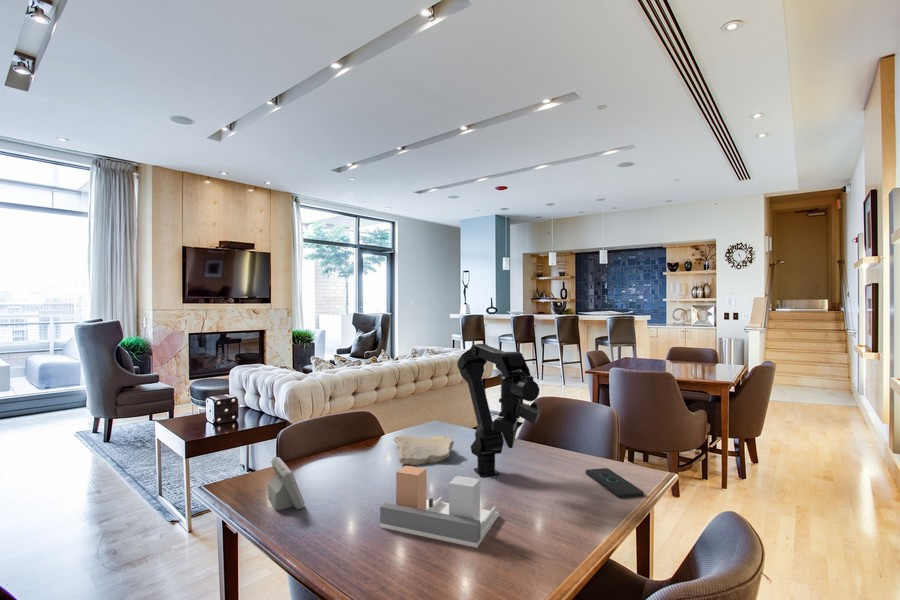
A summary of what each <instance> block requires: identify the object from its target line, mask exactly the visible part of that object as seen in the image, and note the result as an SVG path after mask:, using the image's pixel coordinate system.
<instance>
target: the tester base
mask: <svg viewBox="0 0 900 600" xmlns="http://www.w3.org/2000/svg"><path fill="white" fill-rule="evenodd" d="M496 508H497V506H494V505H493V506H492V508H491V509H490V510H489V509H483V508H480V521H479V520H474V519H469V518H464V517H458V516H453V515H449V502H444V501H443V497H442V496H439V498H437V499H436V500H434V498H428V499H427V498H426V510H421V509H416V508H411V507H405V506H400V505H396V503H395V504H394V503H388V502H384V503H383V504H382V505H380V506H379V527H380V528H383V529H387V530H391V531H396V532H399V533H400V532H401V533H405V534H411V535H415V536H420V537H425V538H429V539H434V540H438V541H444V542H446V543H447V542H448V543H452V544H458V545H462V546H466V547H470V548H471V547H473V548H478V547H479V545H480V544H481V542H482V541H483V540H484V538H485V537H486V536H487V534H488V532H489V531H490V529H491V528H492V526H493V525H494V523H495V521H496V520H497V519H498V518H499V513H500V512H499V511H497V509H496Z"/></svg>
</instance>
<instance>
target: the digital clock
mask: <svg viewBox="0 0 900 600" xmlns="http://www.w3.org/2000/svg"><path fill="white" fill-rule="evenodd" d="M270 463H271V465H272V468H273V470H274V476H273V479H272V480H271V481H270V482H269V483H268V487H267V490H268V491H267V492H268V493H267V495H268V497H267V499H268V500H269V502H270V504H271V505H272V506H273V508H274V510H275V512H277V511H281V510H285V509H289V508H295V509H296V510H301V509H303V508H304V506H305V504H306V503H305V501H304V498H303V496H302V495H303V494H302V493H301V491H300V488H299V486H298V484H297V481H296V478H295V475H294V474H293V472H292V470H291V469H290V468H289V467H288V466H287V464H286V463H285V462H284V461H283V460H282V458H280V457H278V456H275V457H273V458H272V460H271V461H270Z"/></svg>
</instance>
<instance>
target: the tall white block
mask: <svg viewBox="0 0 900 600" xmlns="http://www.w3.org/2000/svg"><path fill="white" fill-rule="evenodd" d="M448 483H449V484H448V503H449V515H453V516H458V517H464V518H469V519H474V520H479V521H480V509H481V479H480V478H474V477H473V478H472V477H468V476H461V475H455V477H454V478H452V480H451V481H450V482H448Z"/></svg>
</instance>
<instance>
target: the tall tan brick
mask: <svg viewBox="0 0 900 600" xmlns="http://www.w3.org/2000/svg"><path fill="white" fill-rule="evenodd" d="M395 474H396V477H395V479H396V481H395V482H396V485H395V486H396V487H395V489H396V490H395V491H396V492H395V498H396V499H395V505H400V506H405V507H411V508H416V509H421V510H426V499H427V468H424V467H418V466H413V465H404V466H403V467H400V469H398V470H397V471H396V473H395Z"/></svg>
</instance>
